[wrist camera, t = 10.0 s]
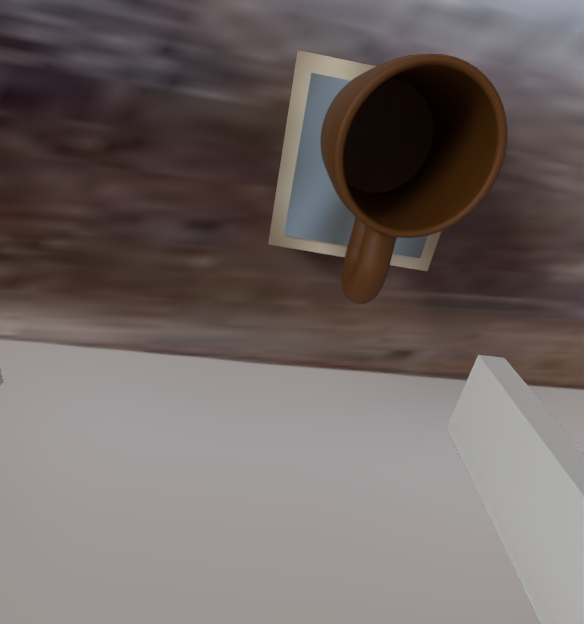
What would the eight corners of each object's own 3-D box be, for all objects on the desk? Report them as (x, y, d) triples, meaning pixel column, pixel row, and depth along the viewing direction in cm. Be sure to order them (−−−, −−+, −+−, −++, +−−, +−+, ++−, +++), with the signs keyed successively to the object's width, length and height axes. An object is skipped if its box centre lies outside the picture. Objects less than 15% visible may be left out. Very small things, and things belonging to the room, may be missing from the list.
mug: (390, 269, 29) (428, 335, 21) (289, 245, 29) (287, 304, 20) (460, 87, 24) (548, 80, 16) (338, 51, 23) (363, 22, 15)
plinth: (272, 223, 34) (267, 246, 29) (297, 59, 28) (297, 49, 23) (408, 247, 35) (428, 273, 30) (458, 92, 29) (494, 90, 24)
